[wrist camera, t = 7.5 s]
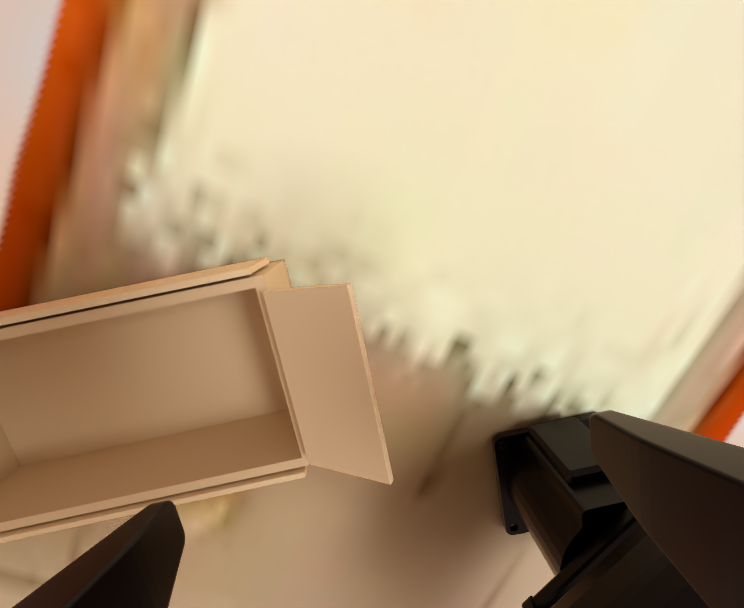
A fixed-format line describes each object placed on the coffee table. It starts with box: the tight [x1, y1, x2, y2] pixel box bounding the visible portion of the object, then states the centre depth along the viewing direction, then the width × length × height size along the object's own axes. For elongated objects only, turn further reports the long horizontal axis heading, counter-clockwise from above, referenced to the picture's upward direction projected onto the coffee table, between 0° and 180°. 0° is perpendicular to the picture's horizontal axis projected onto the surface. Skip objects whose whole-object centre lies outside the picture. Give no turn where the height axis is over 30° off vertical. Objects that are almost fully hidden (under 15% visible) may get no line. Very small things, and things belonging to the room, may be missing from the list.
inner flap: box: [263, 283, 393, 485], centre depth 14 cm, size 7×4×1 cm
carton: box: [0, 257, 311, 543], centre depth 17 cm, size 9×16×5 cm, turn 101°
